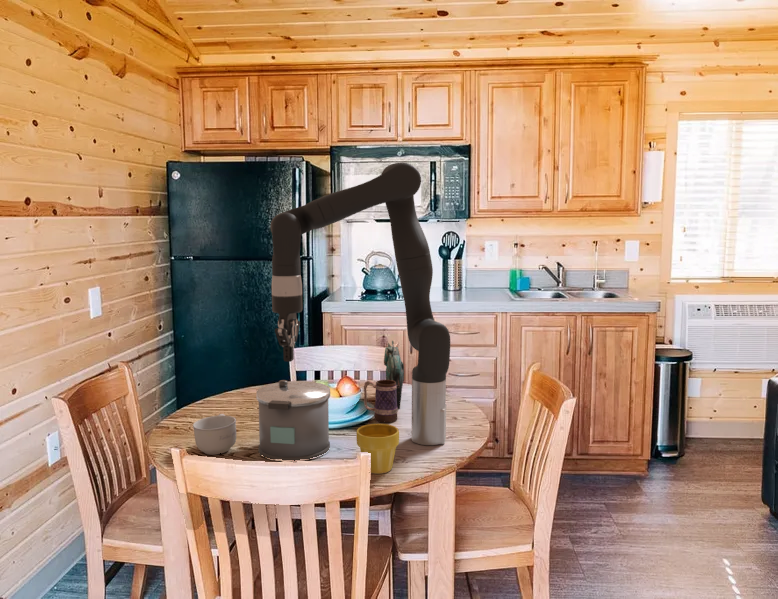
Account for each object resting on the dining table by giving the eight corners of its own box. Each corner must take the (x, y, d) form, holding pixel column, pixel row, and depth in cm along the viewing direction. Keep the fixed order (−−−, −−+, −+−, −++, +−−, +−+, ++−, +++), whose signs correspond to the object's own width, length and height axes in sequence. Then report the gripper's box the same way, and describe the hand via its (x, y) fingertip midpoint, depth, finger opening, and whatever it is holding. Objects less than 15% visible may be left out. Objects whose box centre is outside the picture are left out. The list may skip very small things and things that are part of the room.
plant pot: (347, 471, 153) (347, 431, 152) (372, 457, 162) (372, 420, 160) (383, 481, 147) (383, 440, 146) (407, 466, 156) (407, 428, 155)
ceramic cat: (383, 392, 221) (383, 336, 218) (401, 392, 221) (402, 336, 218) (386, 410, 201) (386, 348, 198) (406, 409, 201) (407, 348, 199)
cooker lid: (338, 388, 173) (337, 377, 173) (316, 411, 152) (316, 399, 152) (271, 385, 176) (271, 374, 176) (241, 407, 155) (240, 395, 155)
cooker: (338, 437, 176) (337, 388, 174) (318, 465, 156) (318, 410, 155) (274, 433, 179) (273, 385, 177) (247, 460, 160) (245, 406, 158)
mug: (397, 416, 195) (398, 378, 194) (397, 423, 188) (397, 384, 186) (364, 415, 195) (364, 377, 194) (362, 423, 188) (362, 383, 187)
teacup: (226, 459, 160) (225, 429, 159) (186, 456, 162) (185, 426, 161) (247, 440, 174) (247, 412, 172) (210, 438, 175) (209, 409, 174)
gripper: (293, 296, 152) (294, 367, 154) (309, 290, 165) (310, 355, 167) (263, 296, 153) (265, 366, 155) (281, 289, 166) (283, 354, 168)
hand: (288, 360), depth 161 cm, fingers closed
